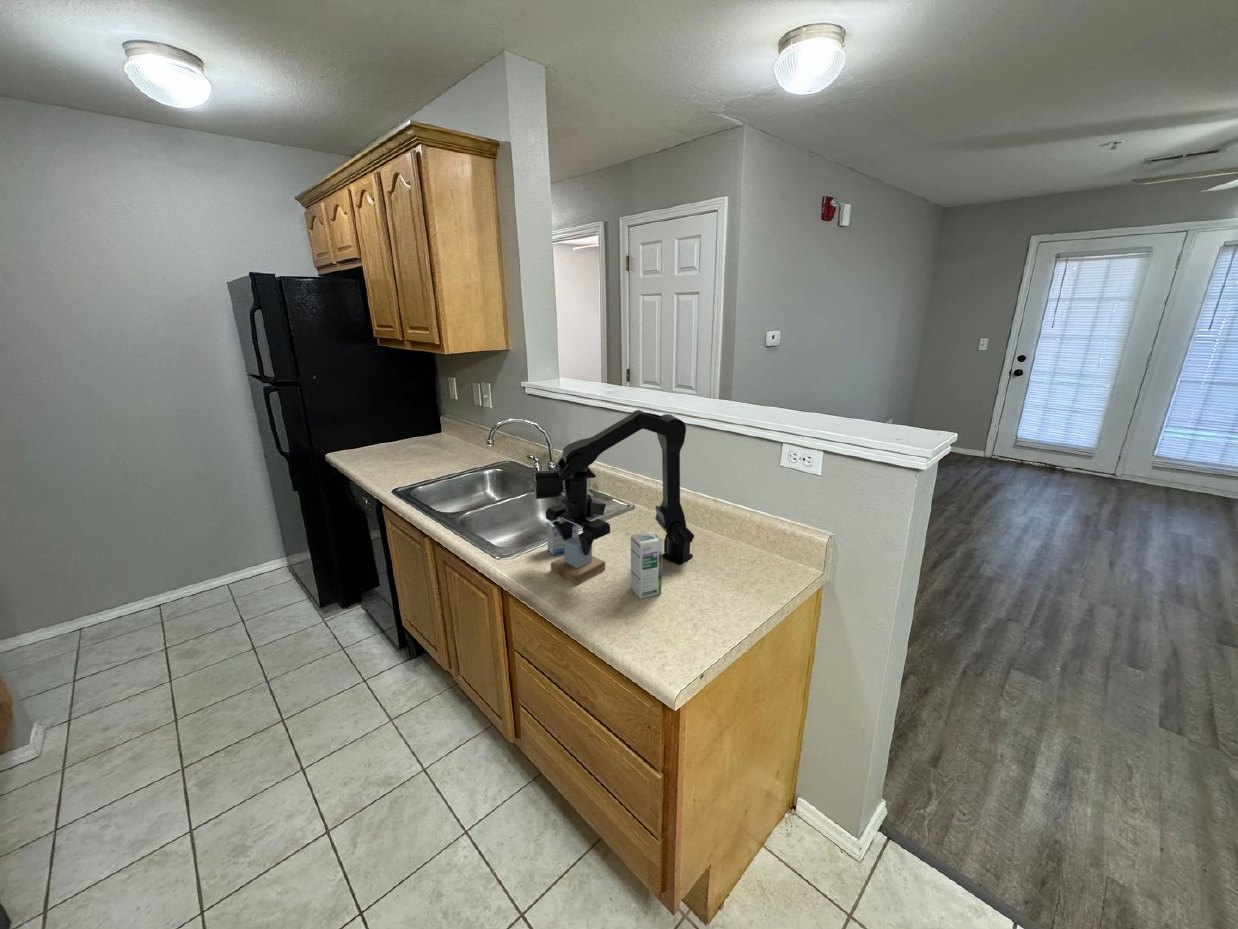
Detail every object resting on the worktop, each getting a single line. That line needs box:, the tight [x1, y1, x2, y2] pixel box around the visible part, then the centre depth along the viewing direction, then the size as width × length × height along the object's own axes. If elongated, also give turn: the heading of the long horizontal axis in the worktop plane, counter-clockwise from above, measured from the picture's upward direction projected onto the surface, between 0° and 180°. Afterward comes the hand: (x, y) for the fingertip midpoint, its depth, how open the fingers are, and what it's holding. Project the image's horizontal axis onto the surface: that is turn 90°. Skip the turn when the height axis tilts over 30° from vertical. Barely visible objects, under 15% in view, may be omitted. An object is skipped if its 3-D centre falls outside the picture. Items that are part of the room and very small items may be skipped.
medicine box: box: [546, 520, 579, 556], centre depth 141 cm, size 8×4×9 cm, turn 117°
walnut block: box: [550, 555, 606, 586], centre depth 131 cm, size 10×10×3 cm
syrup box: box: [630, 530, 663, 600], centre depth 120 cm, size 6×6×14 cm
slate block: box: [563, 536, 593, 568], centre depth 130 cm, size 5×5×6 cm
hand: (577, 551), depth 130 cm, fingers open, 6 cm apart
